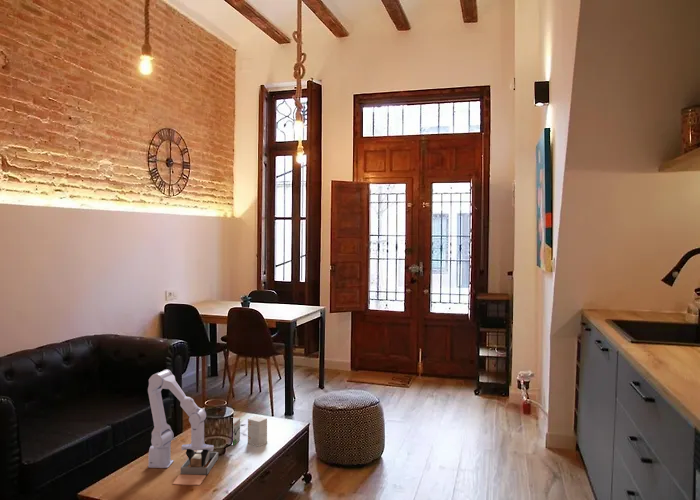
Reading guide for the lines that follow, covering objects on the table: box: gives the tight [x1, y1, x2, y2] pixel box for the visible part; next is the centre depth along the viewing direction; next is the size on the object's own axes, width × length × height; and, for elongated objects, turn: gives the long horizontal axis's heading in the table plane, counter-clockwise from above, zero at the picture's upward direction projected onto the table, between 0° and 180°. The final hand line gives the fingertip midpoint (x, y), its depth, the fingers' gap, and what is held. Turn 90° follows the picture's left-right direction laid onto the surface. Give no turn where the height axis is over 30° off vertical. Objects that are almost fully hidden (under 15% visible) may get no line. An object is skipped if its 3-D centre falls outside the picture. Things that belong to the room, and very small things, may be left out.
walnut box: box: [190, 454, 205, 468], centre depth 252 cm, size 4×6×6 cm
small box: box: [247, 415, 268, 447], centre depth 284 cm, size 8×6×13 cm
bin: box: [180, 450, 219, 476], centre depth 256 cm, size 12×18×3 cm
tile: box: [172, 473, 207, 486], centre depth 241 cm, size 12×9×1 cm
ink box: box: [232, 417, 241, 447], centre depth 284 cm, size 9×5×12 cm, turn 168°
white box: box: [196, 450, 210, 466], centre depth 260 cm, size 4×6×6 cm
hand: (197, 465), depth 252 cm, fingers closed on walnut box, 4 cm apart
